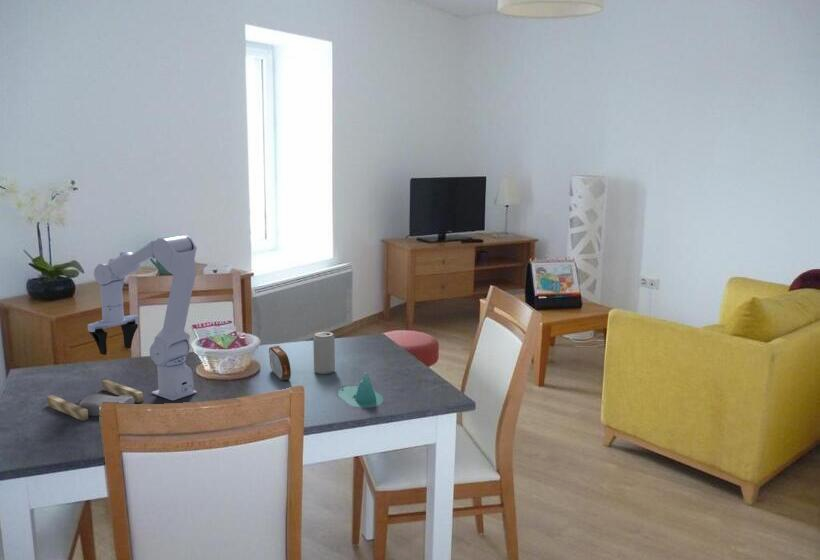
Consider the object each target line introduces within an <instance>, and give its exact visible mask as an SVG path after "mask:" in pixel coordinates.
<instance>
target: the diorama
mask: <svg viewBox="0 0 820 560" xmlns="http://www.w3.org/2000/svg"><path fill="white" fill-rule="evenodd" d="M369 374H370V373H369V372H364V376H363V380H360V382H359V385H358V386H356V385H354V386H353V385H348V386H345V387H343V388H339V390H337V396H338V398H340V399H341V400H343V401H345V402H346V403H347V404H348V405H349V406H352V407H357V408H362V409H364V408H365V409H366V408H374V407H377V406H379V405H381V404H382V403H383V401H384V398H383V396H382V395H381V394H380V393H378V392H377V391H376V390H374V388H373V384H372V382H371V378H370V375H369Z"/></svg>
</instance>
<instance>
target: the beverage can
mask: <svg viewBox="0 0 820 560" xmlns="http://www.w3.org/2000/svg"><path fill="white" fill-rule="evenodd" d="M335 339H336V337H335V336H334V333H333V332H331V331H320V332H315V333H314V337H313V339H312V341H313V344H312V345H313V371H314V372H315V373H316V374H317V375H318V374H319V375H329V374H332V373H334V371H335V370H336V357H335V356H336V351H335V350H336V348H335V347H336V346H335V345H336V344H335V343H336V342H335V341H336V340H335Z"/></svg>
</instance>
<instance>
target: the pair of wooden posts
mask: <svg viewBox="0 0 820 560" xmlns="http://www.w3.org/2000/svg"><path fill="white" fill-rule="evenodd" d="M101 385H102V387H101V388H102V391H103V390H104V391H106V392H109V393H112V394H114V395H117V396H121V395H126V396H133V399H134V403H135V402H136V403H138V404H139V403H142V402H144V392H143V391H141V390H137V389H135V388H133V387H129V386H126V385H123V384H121V383H118V382H115V381H112V380H109V379H104V380H101ZM46 403H47V404H46V405H47V406H48V407H50V408H52V409H54V410H57V411H59V412H61V413H64V414H66V415H68V416H71V417H73V418H75V419H77V420H80V421H82V422H84V421H88V420H89V416H88V410H87V409H85V408H83V407H80V406H79V404H75V403H73V402H70V401H68V400H65V399H63V398H61V397H59V396H56V395H54V394H50V395H48V396H46Z"/></svg>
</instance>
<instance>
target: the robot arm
mask: <svg viewBox="0 0 820 560" xmlns="http://www.w3.org/2000/svg"><path fill="white" fill-rule="evenodd" d="M197 247H198V246H196V244H195V242H194V241H193V240H192V238H191V237H190V236H189V235H187V234H179V235H176V236H169V237H160V238H159V237H158V238H157V239H155V240H151V241H150V242H148V243H147V244H146V245H144V246H143V247H141V248H139V249H138V250H136V251H135V252H132V251H121V252H120V253H119V256H117V257H115V258H114V257H113V258H110V259H108V262H107V263H98V264H97V265H96V266H95V268H94V270H93V276H94V279H95V281H96V282H97V284H99V290H100V291H99V292H100V303H101V305H100V306H101V317H102V319H101V320H97V321H95V322H92V323H91V322H90V323H88V324H87V332H89V334H90V335H91V337H92V339H93V340H94V341H95V343H96V345H97V348H98V350H99V354H100V355H102V356H105V355H107V354H108V353H107V352H108V350H107V337H108V332H106V331H105V330H106V329H109V328H113V327H114V328H115V327H118V326H120V327H121V330H122V335H123V345H124V348H126V349H129V350H130V349H132V344H133V340H134V336H135V333H136V331H137V329H138V328H139V324H138V322H139V315H137V314H130V315H125V310H124V295H123V288H124V285H125V284H124V283H125V279H126V277H128V276H130V275H131V274H133V273H135V272H137V271H139V270H140V268H141V264H143V263H145V262H147V261H149V260H151V259H156V260H157V262H158V263H159V264H160V265H161V266H162V267H163V268H164V269H165V270H166V271H167V272H168V273H170V274H171V275H172V278H171V279H172V280H171V285H170V290H169V295H168V301H167V305H166V309H165V315H164V321H163V325H162V326H163V327H162V328H161V330H160V331H159V332H158V333H157V334H156V336H155V337H154V340H153V342H152V344H151V345H150V347H149V355H150V356H149V357H150V358H151V360H152V362H153V363H154V365H156V366H157V370H156V371H157V381H158V383H157V384H158V386H157V387H158V389H156V390H153V391H151V394H152V395H155V396H159V397H161V398H164V399H166V400H169V401H176V400H179V399H181V398H186V397H188V396H191V395H194V394H196V393H197V390H195V388H194V385H195V384H194V374H193V373H194V372H193V370H192V369H191V367H189V366H188V365H187V363H186V360H187V356H188V355H189V353H190V352H191V344H190V337H191V336H190V334H189V332H187V330H185V329H186V323H187V319H188V318H187V317H188V313H189V310H190V309H189V308H190V304H191V299H192V294H193V288H194V284H195V278H196V274H197V270H196V260H195V258H196V254H197V250H198V248H197Z"/></svg>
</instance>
